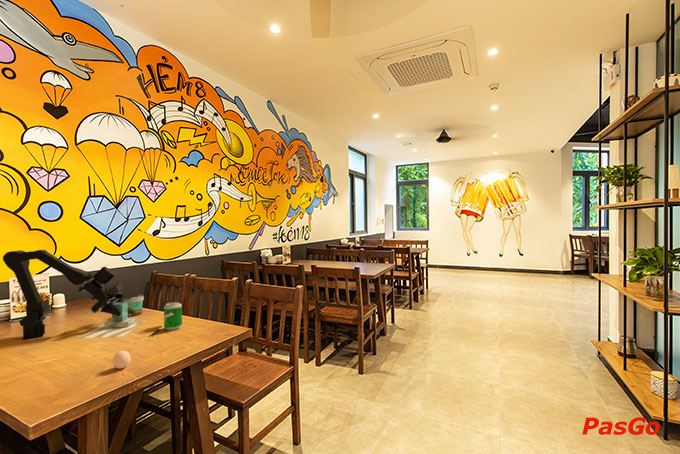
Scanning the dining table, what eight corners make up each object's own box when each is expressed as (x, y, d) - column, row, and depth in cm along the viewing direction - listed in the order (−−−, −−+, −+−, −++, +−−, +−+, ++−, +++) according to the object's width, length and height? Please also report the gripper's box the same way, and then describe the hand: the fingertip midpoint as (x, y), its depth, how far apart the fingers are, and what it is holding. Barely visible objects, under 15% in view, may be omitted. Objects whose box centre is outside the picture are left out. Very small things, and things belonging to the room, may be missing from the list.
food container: (134, 318, 165) (134, 299, 165) (123, 318, 165) (122, 299, 165) (149, 311, 177) (149, 294, 177) (138, 311, 178) (138, 294, 177)
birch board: (75, 342, 130) (75, 338, 130) (107, 325, 152) (107, 322, 152) (121, 339, 133) (121, 336, 133) (146, 323, 155) (146, 320, 155)
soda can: (177, 325, 152) (177, 300, 152) (184, 328, 148) (184, 303, 148) (161, 329, 147) (161, 303, 147) (168, 332, 142) (167, 306, 142)
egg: (132, 367, 107) (132, 350, 107) (114, 372, 103) (114, 355, 103) (128, 363, 110) (128, 346, 110) (110, 368, 106) (110, 351, 106)
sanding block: (104, 328, 144) (104, 305, 144) (112, 323, 150) (112, 302, 150) (127, 327, 145) (127, 304, 145) (134, 322, 151) (134, 301, 151)
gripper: (98, 282, 138) (125, 306, 139) (121, 276, 156) (145, 297, 158) (78, 301, 136) (106, 324, 138) (104, 292, 155) (128, 313, 157)
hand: (123, 313), depth 148 cm, fingers closed on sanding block, 4 cm apart
